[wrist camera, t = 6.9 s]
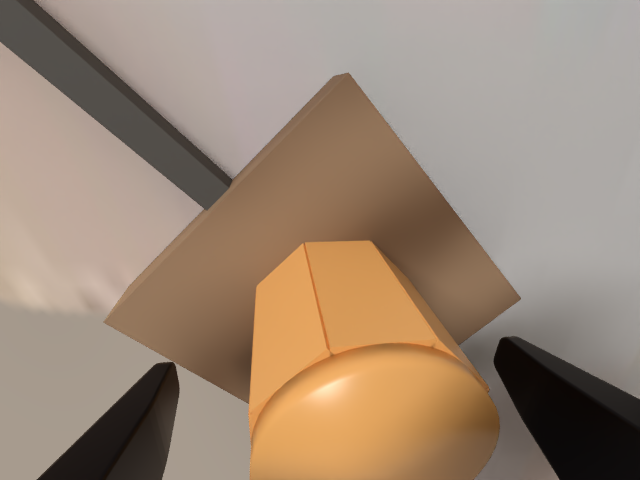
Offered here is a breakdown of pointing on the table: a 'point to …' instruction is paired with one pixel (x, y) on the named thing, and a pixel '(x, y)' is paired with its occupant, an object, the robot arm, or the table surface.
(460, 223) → the peg block
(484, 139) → the table surface
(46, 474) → the robot arm
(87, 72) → the bar
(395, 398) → the orange domed octagonal post
